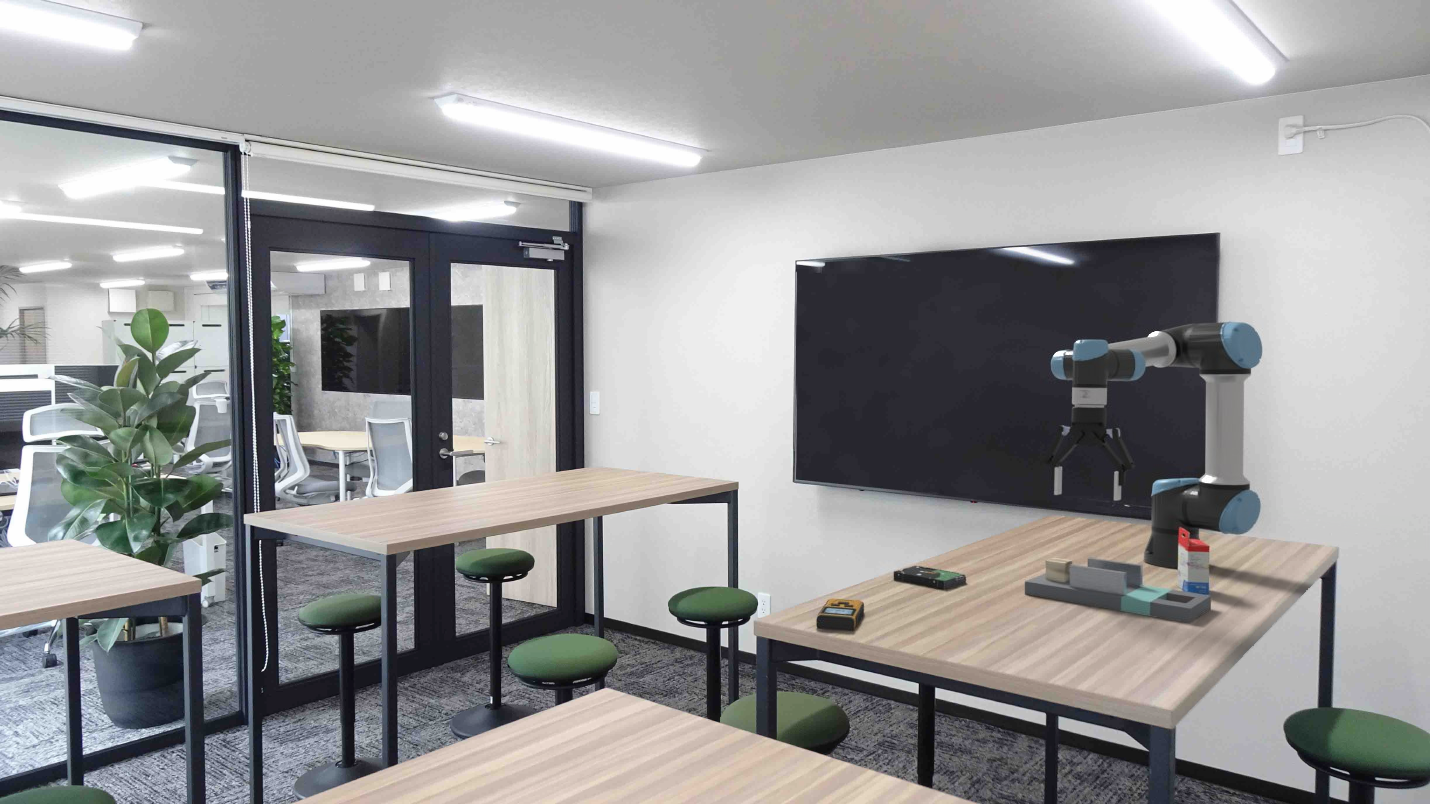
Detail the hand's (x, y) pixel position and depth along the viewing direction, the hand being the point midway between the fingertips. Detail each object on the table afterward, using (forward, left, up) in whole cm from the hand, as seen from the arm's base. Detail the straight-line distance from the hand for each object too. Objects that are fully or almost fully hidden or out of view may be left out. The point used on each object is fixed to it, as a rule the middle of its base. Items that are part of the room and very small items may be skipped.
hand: (1086, 497), depth 217 cm
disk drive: (+12, -34, -24) cm, 43 cm away
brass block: (+1, -6, -20) cm, 21 cm away
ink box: (-22, +17, -23) cm, 36 cm away
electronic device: (+56, -30, -24) cm, 68 cm away
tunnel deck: (+1, +7, -23) cm, 24 cm away
